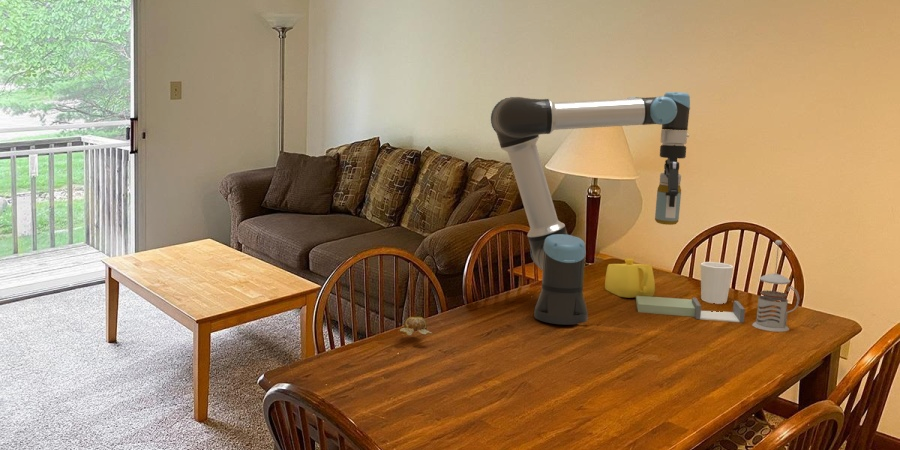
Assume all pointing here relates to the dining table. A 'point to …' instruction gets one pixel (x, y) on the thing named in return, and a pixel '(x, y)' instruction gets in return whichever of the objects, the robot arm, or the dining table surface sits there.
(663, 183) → the bottle
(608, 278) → the teapot
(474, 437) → the dining table surface
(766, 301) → the french press
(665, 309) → the green bar on base
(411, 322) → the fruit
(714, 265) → the cup
